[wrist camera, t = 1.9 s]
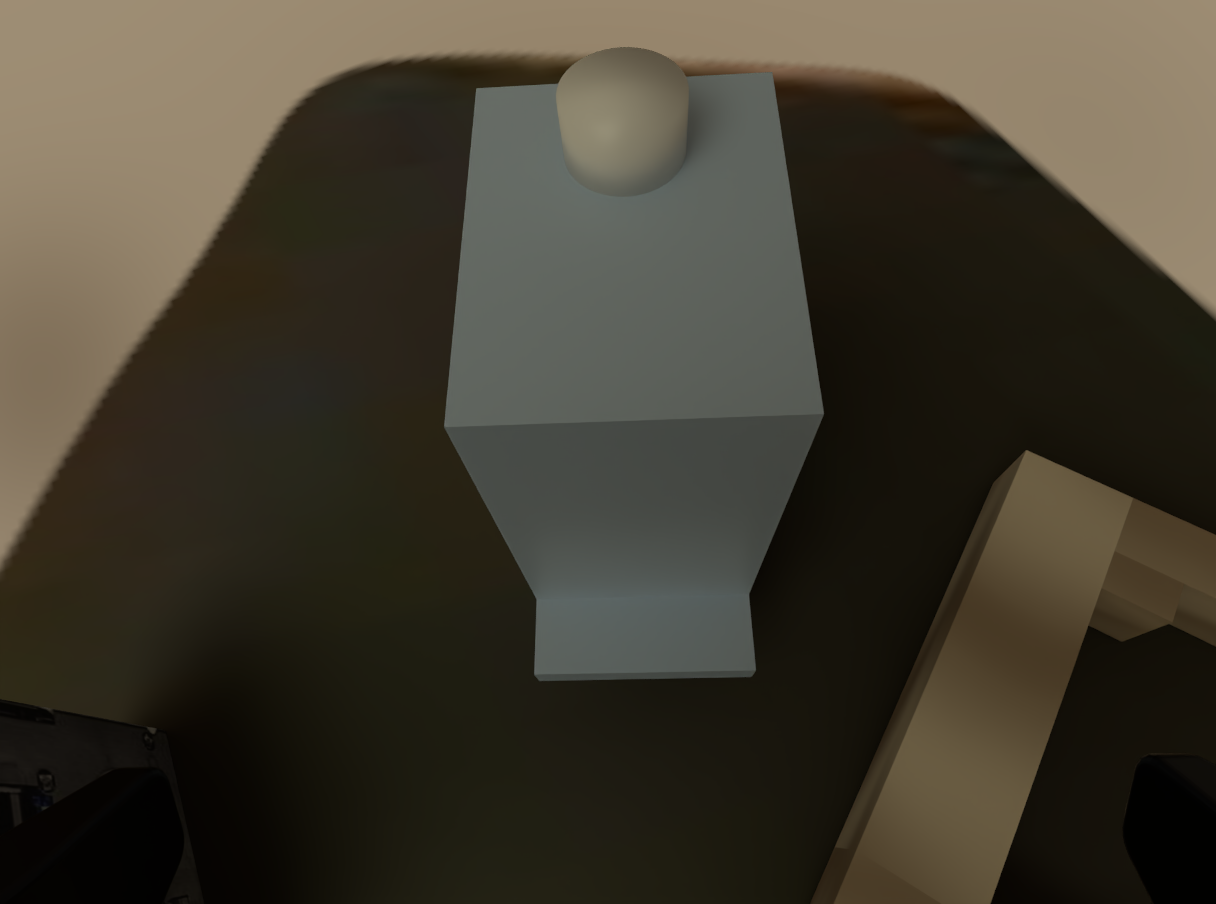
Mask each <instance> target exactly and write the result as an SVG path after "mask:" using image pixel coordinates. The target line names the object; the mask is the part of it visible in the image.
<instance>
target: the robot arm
mask: <svg viewBox="0 0 1216 904" xmlns="http://www.w3.org/2000/svg"><path fill="white" fill-rule="evenodd" d="M1123 838H1124V843H1125V846H1126V850H1127V852H1128V855H1129V857H1130V859H1131V861H1132V863H1133V865H1134V867H1135V869H1136V871H1137V873H1138V875H1139V877H1140V879H1141V881H1142V883H1143V885H1144V887H1145V889H1146V892H1147V894H1148V896H1149V898H1150V900H1151V902H1152V904H1216V765H1215V764H1213V763H1211V762H1209V761H1207V760H1205V759H1203V758H1201V757H1199V756H1197V755H1193V754H1188V753H1157V754H1147V755H1144V756H1143V757H1141V758H1140V760H1139V761H1138V762H1137V764H1136V767H1135V770H1134V775H1133V779H1132V784H1131V788H1130V793H1129V797H1128V802H1127V806H1126V810H1125V815H1124V819H1123ZM183 850H184V831H183V827H182V823H181V820H180V817H179V813H178V810H177V806H176V803H175V800H174V796H173V793H172V789H171V786H170V782H169V779H168V777H167V775H166V774H165V773H164V772H163V771H162V770H161V769H159V768H156V767H124V768H117V769H114V770H112V771H110V772H108V773H106V774H104V775H102V776H101V777H99V778H97V779H96V780H94V781H92V782H91V783H89V784H87V785H85V786H84V787H82V788H80V789H79V790H77V791H75V792H74V793H72V794H70V795H68V796H67V797H65V798H63V799H62V800H60V801H58V802H56V803H55V804H53V805H51V806H50V807H48V808H46V809H45V810H43V811H41V812H39V813H38V814H36V815H34V816H33V817H31V818H29V819H28V820H26V821H24V822H22V823H21V824H19V825H17V826H16V827H14V828H12V829H10V830H9V831H7V832H5V833H4V834H2V835H0V904H163V901H164V899H165V897H166V894H167V892H168V890H169V887H170V885H171V883H172V880H173V878H174V876H175V873H176V871H177V869H178V867H179V864H180V861H181V858H182V854H183Z"/></svg>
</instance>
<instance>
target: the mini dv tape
mask: <svg viewBox="0 0 1216 904" xmlns="http://www.w3.org/2000/svg"><path fill="white" fill-rule="evenodd" d="M124 767H156V768H159V769H161V770H162V771H163V772H164V773H165V774H166V775H167V777H168V779H169V782H170V786H171V789H172V793H173V796H174V800H175V803H176V806H177V810H178V813H179V817H180V820H181V823H182V827H183V831H184V850H183V854H182V858H181V861H180V864H179V867H178V869H177V871H176V873H175V876H174V878H173V880H172V883H171V885H170V887H169V890H168V892H167V894H166V897H165V899H164V901H163V904H204V900H203V895H202V891H201V886H200V882H199V877H198V873H197V868H196V864H195V859H194V855H193V850H192V846H191V842H190V837H189V833H188V828H187V824H186V819H185V815H184V810H183V806H182V801H181V797H180V792H179V788H178V783H177V779H176V774H175V770H174V765H173V761H172V757H171V752H170V748H169V743H168V739H167V734H166V731H164V730H162V729H156V728H151V727H146V726H140V725H135V724H130V723H124V722H119V721H114V720H108V719H103V718H98V717H92V716H87V715H82V714H76V713H71V712H66V711H60V710H55V709H50V708H44V707H39V706H34V705H28V704H23V703H18V702H12V701H7V700H2V699H0V835H2V834H4V833H5V832H7V831H9V830H10V829H12V828H14V827H16V826H17V825H19V824H21V823H22V822H24V821H26V820H28V819H29V818H31V817H33V816H34V815H36V814H38V813H39V812H41V811H43V810H45V809H46V808H48V807H50V806H51V805H53V804H55V803H56V802H58V801H60V800H62V799H63V798H65V797H67V796H68V795H70V794H72V793H74V792H75V791H77V790H79V789H80V788H82V787H84V786H85V785H87V784H89V783H91V782H92V781H94V780H96V779H97V778H99V777H101V776H102V775H104V774H106V773H108V772H110V771H112V770H114V769H117V768H124Z"/></svg>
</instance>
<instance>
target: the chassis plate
mask: <svg viewBox="0 0 1216 904" xmlns="http://www.w3.org/2000/svg"><path fill="white" fill-rule="evenodd" d="M1167 624H1170V625H1172V626H1174V627H1176V628H1179V629H1181V630H1183V631H1185V632H1187V633H1189V634H1191V635H1193V636H1195V637H1197V638H1199V639H1201V640H1203V641H1205V642H1207V643H1209V644H1211V645H1214V646H1216V535H1215V534H1212V533H1210V532H1208V531H1206V530H1203V529H1201V528H1199V527H1197V526H1195V525H1192V524H1190V523H1188V522H1186V521H1183V520H1181V519H1179V518H1177V517H1174V516H1172V515H1170V514H1168V513H1166V512H1163V511H1161V510H1159V509H1157V508H1154V507H1152V506H1150V505H1148V504H1145V503H1143V502H1141V501H1139V500H1137V499H1134V498H1132V497H1130V496H1128V495H1125V494H1123V493H1121V492H1119V491H1116V490H1114V489H1112V488H1110V487H1108V486H1105V485H1103V484H1101V483H1099V482H1096V481H1094V480H1092V479H1090V478H1087V477H1085V476H1083V475H1081V474H1079V473H1076V472H1074V471H1072V470H1070V469H1067V468H1065V467H1063V466H1061V465H1058V464H1056V463H1054V462H1052V461H1050V460H1047V459H1045V458H1043V457H1041V456H1038V455H1036V454H1034V453H1032V452H1029V451H1027V450H1026V451H1025V452H1024V453H1023V454H1022V455H1021V456H1020V457H1019V458H1018V459H1017V460H1016V461H1015V462H1014V463H1013V464H1012V465H1011V466H1010V467H1009V468H1008V469H1007V470H1006V471H1005V472H1004V473H1003V474H1002V475H1001V476H1000V477H999V478H998V479H997V480H996V481H995V482H994V483H993V485H992V487H991V489H990V491H989V494H988V496H987V498H986V501H985V503H984V505H983V507H982V510H981V512H980V514H979V517H978V519H977V521H976V524H975V526H974V528H973V530H972V533H971V535H970V537H969V540H968V542H967V544H966V547H965V549H964V551H963V553H962V556H961V558H960V560H959V563H958V565H957V567H956V570H955V572H954V574H953V576H952V579H951V581H950V583H949V586H948V588H947V590H946V592H945V595H944V597H943V599H942V602H941V604H940V606H939V609H938V611H937V613H936V615H935V618H934V620H933V622H932V625H931V627H930V629H929V632H928V634H927V636H926V638H925V641H924V643H923V645H922V648H921V650H920V652H919V654H918V657H917V659H916V661H915V664H914V666H913V668H912V671H911V673H910V675H909V677H908V680H907V682H906V684H905V687H904V689H903V691H902V694H901V696H900V698H899V700H898V703H897V705H896V707H895V710H894V712H893V714H892V717H891V719H890V721H889V723H888V726H887V728H886V730H885V733H884V735H883V737H882V739H881V742H880V744H879V746H878V749H877V751H876V753H875V756H874V758H873V760H872V762H871V765H870V767H869V769H868V772H867V774H866V776H865V779H864V781H863V783H862V785H861V788H860V790H859V792H858V795H857V797H856V799H855V801H854V804H853V806H852V808H851V811H850V813H849V815H848V818H847V820H846V822H845V824H844V827H843V829H842V831H841V834H840V836H839V838H838V841H837V843H836V845H835V847H834V850H833V852H832V854H831V857H830V859H829V861H828V864H827V866H826V868H825V870H824V873H823V875H822V877H821V880H820V882H819V884H818V886H817V889H816V891H815V893H814V896H813V898H812V900H811V903H810V904H990V903H991V900H992V898H993V895H994V892H995V889H996V886H997V883H998V881H999V878H1000V875H1001V872H1002V869H1003V866H1004V863H1005V861H1006V858H1007V855H1008V852H1009V849H1010V846H1011V844H1012V841H1013V838H1014V835H1015V832H1016V829H1017V827H1018V824H1019V821H1020V818H1021V815H1022V812H1023V810H1024V807H1025V804H1026V801H1027V798H1028V795H1029V792H1030V790H1031V787H1032V784H1033V781H1034V778H1035V775H1036V773H1037V770H1038V767H1039V764H1040V761H1041V758H1042V756H1043V753H1044V750H1045V747H1046V744H1047V741H1048V739H1049V736H1050V733H1051V730H1052V727H1053V724H1054V721H1055V719H1056V716H1057V713H1058V710H1059V707H1060V704H1061V702H1062V699H1063V696H1064V693H1065V690H1066V687H1067V685H1068V682H1069V679H1070V676H1071V673H1072V670H1073V668H1074V665H1075V662H1076V659H1077V656H1078V653H1079V650H1080V648H1081V645H1082V642H1083V639H1084V636H1085V633H1086V631H1087V628H1088V625H1089V626H1091V627H1093V628H1095V629H1097V630H1099V631H1101V632H1103V633H1105V634H1107V635H1109V636H1111V637H1113V638H1115V639H1117V640H1119V641H1121V642H1123V641H1125V640H1128V639H1130V638H1133V637H1136V636H1138V635H1141V634H1144V633H1146V632H1149V631H1151V630H1154V629H1157V628H1159V627H1162V626H1164V625H1167Z"/></svg>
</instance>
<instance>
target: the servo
mask: <svg viewBox="0 0 1216 904" xmlns="http://www.w3.org/2000/svg"><path fill="white" fill-rule="evenodd" d="M823 415H824V411H823V404H822V398H821V391H820V384H819V378H818V371H817V365H816V358H815V351H814V345H813V338H812V332H811V325H810V319H809V312H808V305H807V299H806V292H805V286H804V279H803V272H802V266H801V259H800V253H799V246H798V239H797V233H796V226H795V220H794V213H793V206H792V200H791V193H790V187H789V180H788V173H787V167H786V160H785V154H784V147H783V141H782V134H781V127H780V121H779V114H778V108H777V101H776V94H775V88H774V81H773V75H772V72H765V73H747V74H729V75H711V76H693V77H686V76H685V74H684V73H683V71H682V70H681V69H680V67H679V66H678V65H677V64H675V63H674V62H673V61H672V60H670V59H669V58H667V57H665V56H663V55H661V54H659V53H656V52H654V51H650V50H646V49H641V48H632V47H623V48H622V47H620V48H611V49H606V50H602V51H599V52H595V53H593V54H590V55H588V56H586V57H584V58H582V59H581V60H579V61H577V62H576V63H575V64H573V65H572V66H571V67H570V68H569V69H568V70H567V71H566V72H565V73H564V75H563V76H562V78H561V80H560V81H559V83H558V84H548V85H530V86H512V87H494V88H476V99H475V109H474V120H473V130H472V141H471V151H470V162H469V172H468V183H467V193H466V204H465V214H464V225H463V235H462V246H461V256H460V267H459V277H458V288H457V298H456V308H455V319H454V329H453V340H452V350H451V361H450V371H449V382H448V392H447V403H446V413H445V424H444V428H445V430H446V432H447V433H448V435H449V437H450V439H451V441H452V443H453V445H454V446H455V448H456V450H457V452H458V454H459V456H460V458H461V459H462V461H463V463H464V465H465V467H466V469H467V471H468V472H469V474H470V476H471V478H472V480H473V482H474V484H475V485H476V487H477V489H478V491H479V493H480V495H481V497H482V498H483V500H484V502H485V504H486V506H487V508H488V510H489V511H490V513H491V515H492V517H493V519H494V521H495V523H496V524H497V526H498V528H499V530H500V532H501V534H502V536H503V538H504V539H505V541H506V543H507V545H508V547H509V549H510V551H511V552H512V554H513V556H514V558H515V560H516V562H517V564H518V565H519V567H520V569H521V571H522V573H523V575H524V577H525V578H526V580H527V582H528V584H529V586H530V588H531V590H532V591H533V593H534V595H535V597H536V599H537V607H536V638H535V669H534V675H535V676H536V677H537V678H538V680H539V681H561V680H614V679H667V678H720V677H752V675H753V674H754V672H755V671H756V666H755V655H754V644H753V633H752V622H751V612H750V601H749V593H750V590H751V588H752V586H753V583H754V581H755V578H756V576H757V574H758V571H759V569H760V566H761V564H762V562H763V559H764V557H765V554H766V552H767V550H768V547H769V545H770V542H771V540H772V538H773V535H774V533H775V530H776V528H777V526H778V523H779V521H780V518H781V516H782V514H783V511H784V509H785V506H786V504H787V502H788V499H789V497H790V494H791V492H792V490H793V487H794V485H795V482H796V480H797V478H798V475H799V473H800V470H801V468H802V466H803V463H804V461H805V458H806V456H807V454H808V451H809V449H810V446H811V444H812V442H813V439H814V437H815V434H816V432H817V430H818V427H819V425H820V422H821V420H822V418H823Z"/></svg>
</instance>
